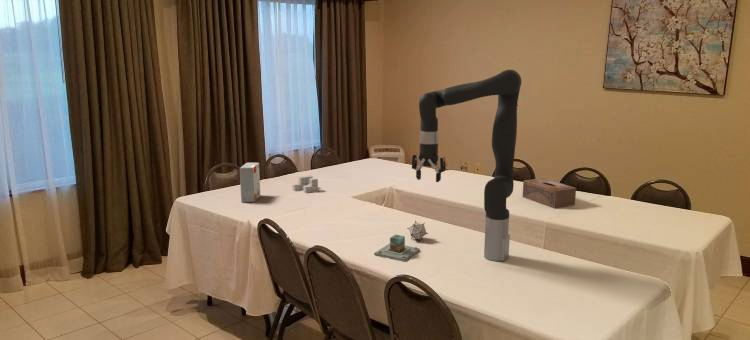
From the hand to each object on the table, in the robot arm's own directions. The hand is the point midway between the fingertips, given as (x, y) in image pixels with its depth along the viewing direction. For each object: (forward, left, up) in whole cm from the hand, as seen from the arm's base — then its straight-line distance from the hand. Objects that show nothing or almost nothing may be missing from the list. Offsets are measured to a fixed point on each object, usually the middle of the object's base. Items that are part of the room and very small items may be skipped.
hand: (428, 180), depth 222 cm
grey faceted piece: (+9, -9, -30) cm, 33 cm away
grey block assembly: (+107, -52, -30) cm, 123 cm away
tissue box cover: (-26, -102, -31) cm, 110 cm away
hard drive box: (+122, -22, -30) cm, 128 cm away
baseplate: (+9, +10, -30) cm, 33 cm away
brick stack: (+9, +10, -29) cm, 32 cm away
